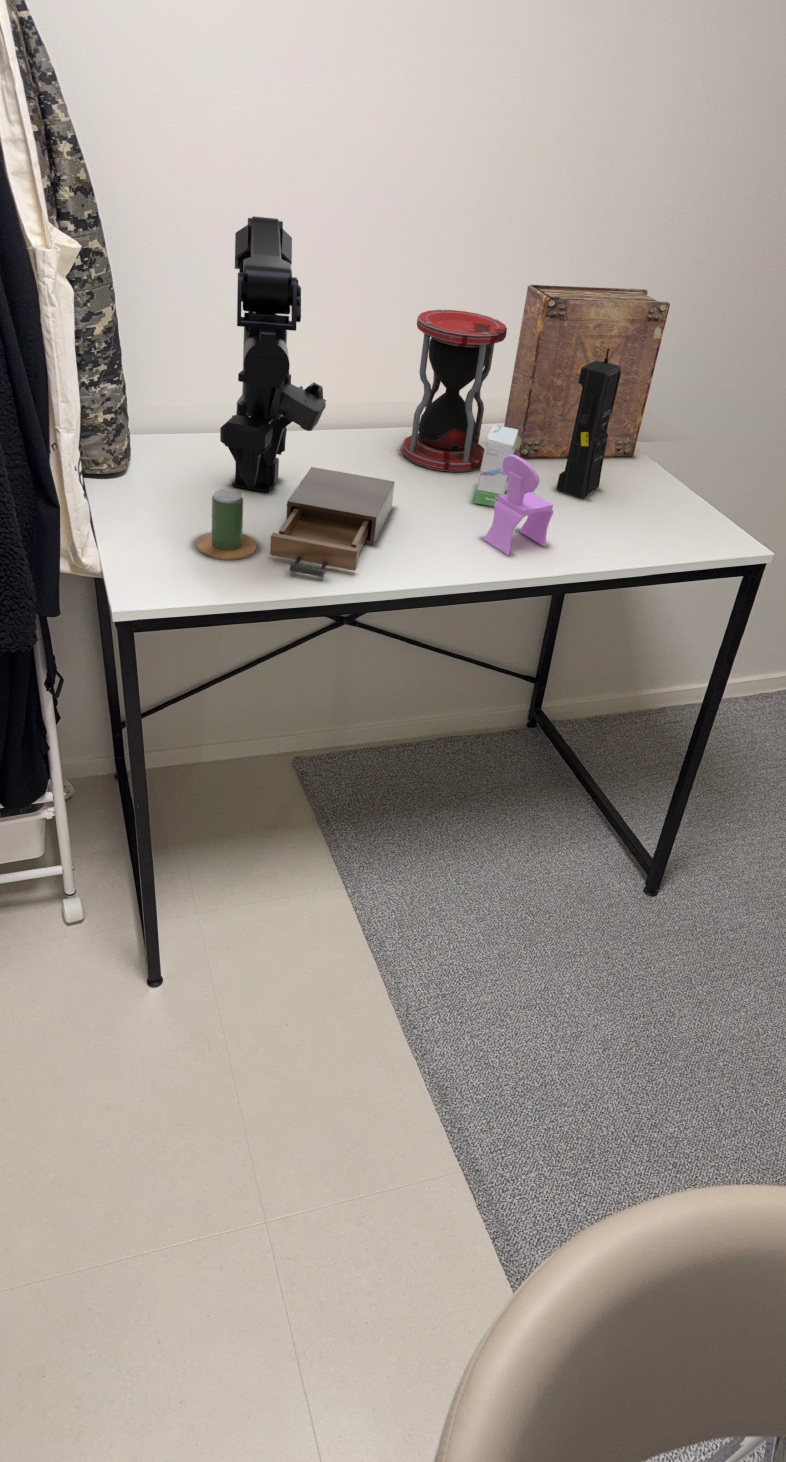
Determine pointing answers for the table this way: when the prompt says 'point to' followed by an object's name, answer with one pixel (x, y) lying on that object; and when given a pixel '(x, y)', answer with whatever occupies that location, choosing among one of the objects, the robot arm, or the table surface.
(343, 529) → the drawer
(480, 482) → the ink box
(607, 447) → the book
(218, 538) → the can
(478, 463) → the hourglass
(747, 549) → the table surface
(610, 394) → the portable radio
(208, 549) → the coaster
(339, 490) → the cabinet
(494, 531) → the toy chair
